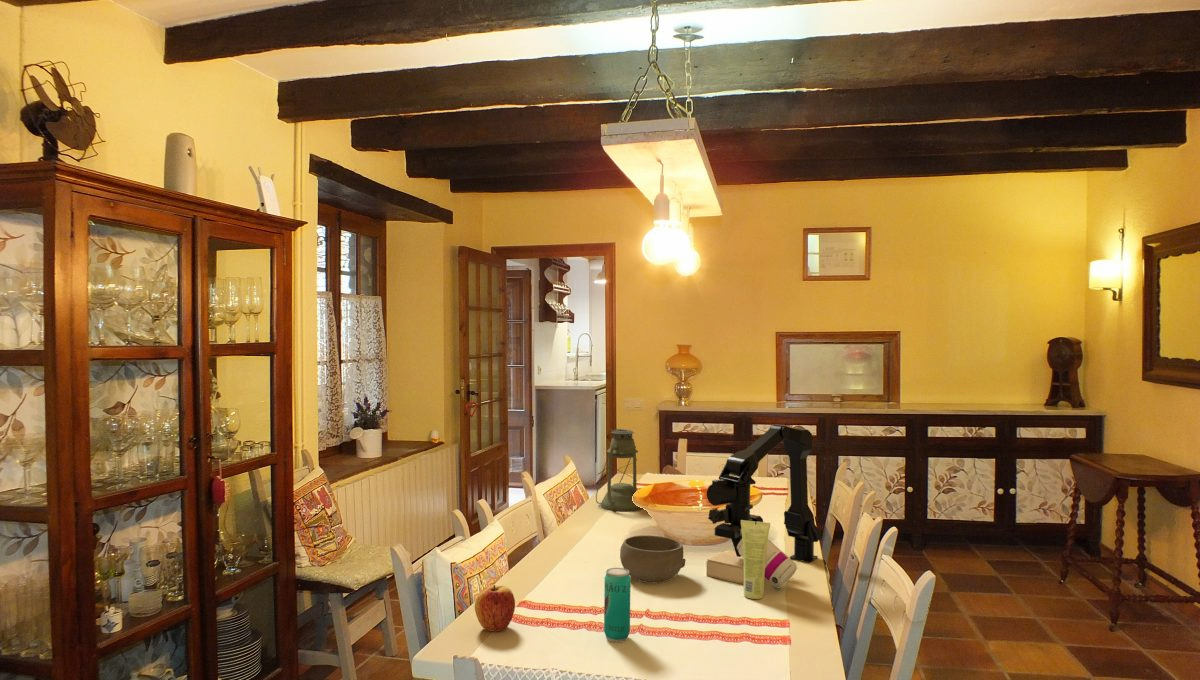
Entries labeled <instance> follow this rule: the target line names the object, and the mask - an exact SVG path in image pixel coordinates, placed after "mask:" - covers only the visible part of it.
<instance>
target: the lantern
mask: <svg viewBox="0 0 1200 680" xmlns="http://www.w3.org/2000/svg"><path fill="white" fill-rule="evenodd" d="M610 431H611V432H610V433H611V434H612V438H611V440H610V446H609V448H608V449H607V450H606V453H608V456H607V459H606V461H605V464H604V466H603V470H602V473H601V476H600V479H599V481H598V486H597V490H596V494H595V502H596V504H598V505H599V504H600V508H601V509H603V510H606V511H610V512H621V513H623V512H626V513H627V512H628V513H629V512H636V511H640V510H642V509H641V508H640V507H638V506H636V505H635V504H634V503H633V501H632V496H633V494H634V493H635V492H636V491H638V486H637V461H638V459H637V454H638V453H639V451H638V450H637V448H636V447H637V446H636V443H635V439H634V438H633V434H635V431H633V430H630V429H624V428H614V429H610ZM613 458H614V459H628V463H627V465H624V466H622V467H621V469H622V468H625V470H624V472H623V471H621V470H620V469H617V468H616V467H614V466H613V465H612V464H613V463H612V462H613ZM631 459H632V463H630V461H631ZM631 464H632V476H631V475H629V474H627V473H626V471H627V469H628V467H629V466H630V465H631ZM606 467H607V484H606V485H607V490H606V493H605V495H604V497H603V498H602V499H601V502H599V501H598V491H599V487H600V485H601V481H602V477H603V475H604V472H605V468H606ZM612 469H615V470H614V471H613V472H612ZM617 471H618V472H620V473H622V476H621V479H620V480H619V482H618V483H614V484H612V474H614V473H615V472H617ZM625 475H626V476H629V477H630V478H632V482H631V483H626V482H625V483H624V482H622V480H623V478H624V476H625Z"/></svg>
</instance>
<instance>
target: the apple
mask: <svg viewBox="0 0 1200 680" xmlns="http://www.w3.org/2000/svg"><path fill="white" fill-rule="evenodd" d="M515 610H516V599H515V596H514V593H513V591H512V590H511V588H509V587H508V586H505V585H495V584H494V585H490V586H487V587H485V588H483V589H481V590H480V591H479V592H478V593H477V595H476V597H475V601H474V612H475V614H476V615H475V616H476V618H477V620H478V622H479V624H480V626H481V627H482V628H483V629H484V630H486V631H488V632H502V631H505V629H506V628H508V626H509V625H510V623H511V621H512V619H513V617H514V613H515Z"/></svg>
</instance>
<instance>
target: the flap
mask: <svg viewBox="0 0 1200 680" xmlns="http://www.w3.org/2000/svg"><path fill="white" fill-rule="evenodd" d="M719 554H720V555H725V556H730V557H735V558H739V559H743V557H742V556H741V557H737V555H736V552H735V550H734V551H733V550H728V549H727V550H725V551H723V552H720V553H719Z"/></svg>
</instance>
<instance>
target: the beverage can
mask: <svg viewBox="0 0 1200 680" xmlns="http://www.w3.org/2000/svg"><path fill="white" fill-rule="evenodd" d="M605 573H606V574H605V576H604V589H603V590H604V593H603V594H604V595H603V597H604V599H603V600H604V601H603V602H604V603H603V604H604V605H603V606H604V608H603V616H604V617H603V631H604V636H605V638H606V639H607V641H608V642H611V643H623V642H626V641H627V640H628V638H629V635H630V633H631V576H630V575H629V570H627V569H624V568H623V567H611V568H607V569H606V570H605Z"/></svg>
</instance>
